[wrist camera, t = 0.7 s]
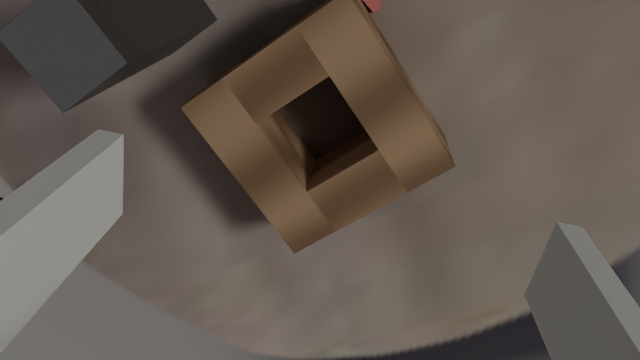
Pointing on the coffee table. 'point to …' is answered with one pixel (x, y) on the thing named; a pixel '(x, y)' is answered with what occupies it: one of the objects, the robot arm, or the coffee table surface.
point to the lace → (373, 4)
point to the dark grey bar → (98, 41)
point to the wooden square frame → (288, 148)
